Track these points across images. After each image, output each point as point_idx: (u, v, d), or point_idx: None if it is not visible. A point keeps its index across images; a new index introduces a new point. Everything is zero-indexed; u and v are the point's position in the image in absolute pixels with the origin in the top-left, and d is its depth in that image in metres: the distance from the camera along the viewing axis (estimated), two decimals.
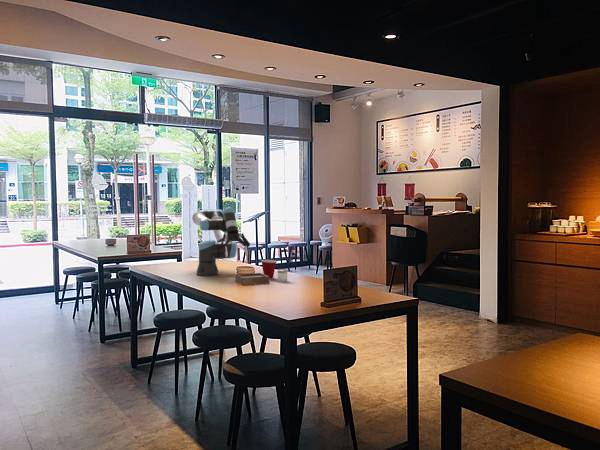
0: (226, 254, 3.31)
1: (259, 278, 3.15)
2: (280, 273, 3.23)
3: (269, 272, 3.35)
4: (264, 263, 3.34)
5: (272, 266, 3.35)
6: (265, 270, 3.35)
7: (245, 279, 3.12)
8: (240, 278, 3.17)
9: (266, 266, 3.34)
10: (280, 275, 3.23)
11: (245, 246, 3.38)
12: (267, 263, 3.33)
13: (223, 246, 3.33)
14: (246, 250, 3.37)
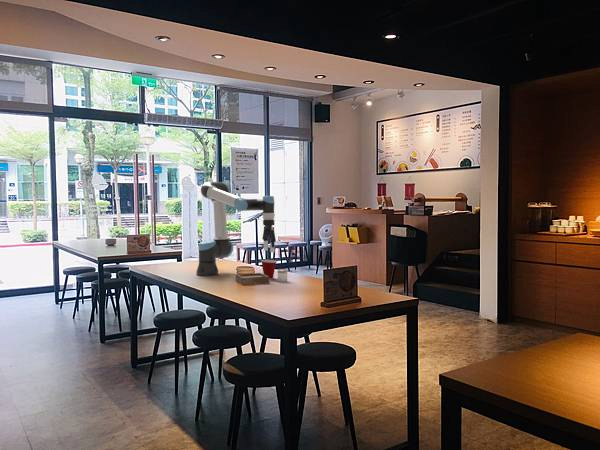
0: (273, 251, 3.31)
1: (259, 278, 3.15)
2: (280, 273, 3.23)
3: (269, 272, 3.35)
4: (264, 263, 3.34)
5: (272, 266, 3.35)
6: (265, 270, 3.35)
7: (245, 279, 3.12)
8: (240, 278, 3.17)
9: (266, 266, 3.34)
10: (280, 275, 3.23)
11: (267, 241, 3.44)
12: (267, 263, 3.33)
13: (274, 241, 3.30)
14: (267, 246, 3.44)
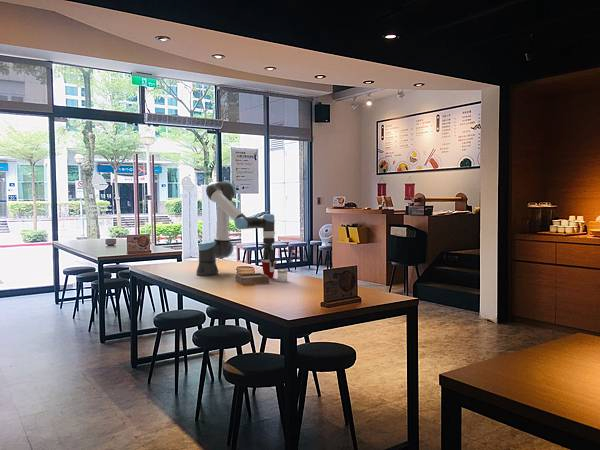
0: (273, 270, 3.33)
1: (259, 278, 3.15)
2: (280, 273, 3.23)
3: (269, 272, 3.35)
4: (264, 263, 3.34)
5: None
6: (265, 270, 3.35)
7: (245, 279, 3.12)
8: (240, 278, 3.17)
9: (266, 266, 3.34)
10: (280, 275, 3.23)
11: None
12: (267, 263, 3.33)
13: (273, 261, 3.32)
14: None
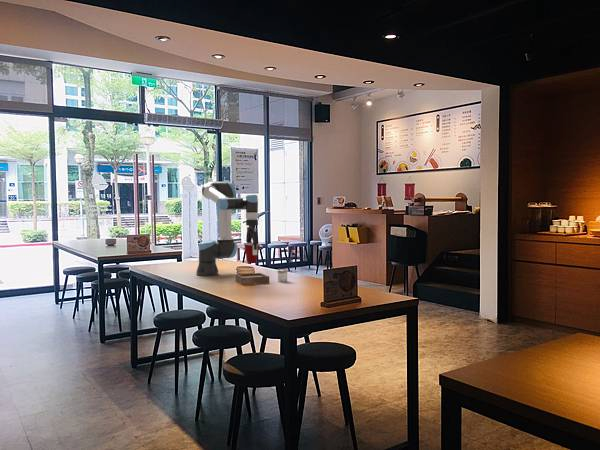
0: (256, 253, 3.16)
1: (259, 278, 3.15)
2: (280, 273, 3.23)
3: (252, 255, 3.18)
4: (247, 246, 3.18)
5: None
6: (248, 253, 3.19)
7: (245, 279, 3.12)
8: (240, 278, 3.17)
9: (249, 249, 3.18)
10: (280, 275, 3.23)
11: None
12: (250, 246, 3.17)
13: (256, 244, 3.15)
14: None
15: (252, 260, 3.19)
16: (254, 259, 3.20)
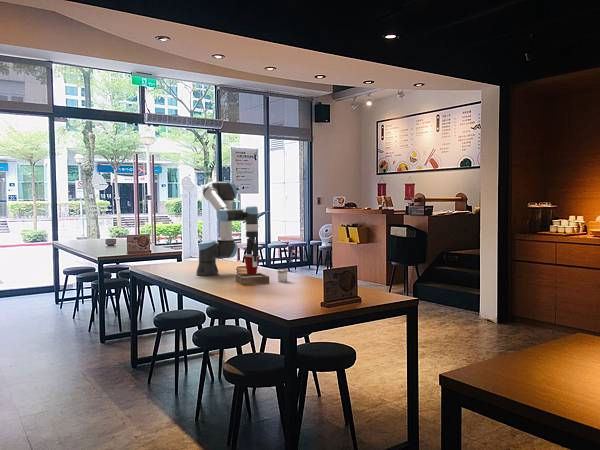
0: (256, 265, 3.17)
1: (259, 278, 3.15)
2: (280, 273, 3.23)
3: (252, 267, 3.19)
4: (247, 258, 3.18)
5: None
6: (248, 265, 3.19)
7: (245, 279, 3.12)
8: (240, 278, 3.17)
9: (249, 260, 3.18)
10: (280, 275, 3.23)
11: None
12: (250, 258, 3.17)
13: (256, 256, 3.16)
14: None
15: (252, 272, 3.19)
16: (254, 271, 3.20)
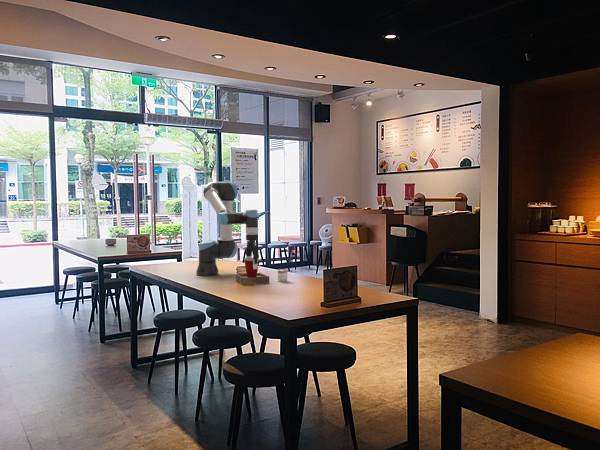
0: (256, 267, 3.16)
1: (259, 278, 3.15)
2: (280, 273, 3.23)
3: (252, 270, 3.19)
4: (247, 261, 3.18)
5: None
6: (248, 269, 3.19)
7: (245, 279, 3.12)
8: (240, 278, 3.17)
9: (249, 264, 3.18)
10: (280, 275, 3.23)
11: None
12: (250, 261, 3.17)
13: (257, 258, 3.15)
14: None
15: (252, 275, 3.20)
16: (254, 274, 3.20)
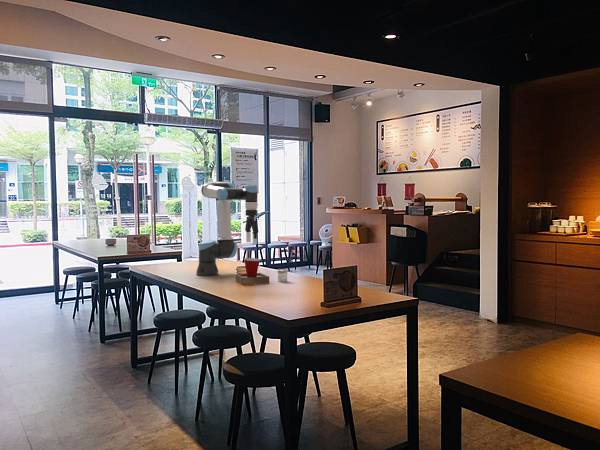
0: (256, 242, 3.15)
1: (259, 278, 3.15)
2: (280, 273, 3.23)
3: (252, 270, 3.19)
4: (247, 261, 3.18)
5: (255, 265, 3.19)
6: (248, 269, 3.19)
7: (245, 279, 3.12)
8: (240, 278, 3.17)
9: (249, 264, 3.18)
10: (280, 275, 3.23)
11: (250, 232, 3.28)
12: (250, 261, 3.17)
13: (256, 233, 3.14)
14: (250, 237, 3.28)
15: (252, 275, 3.20)
16: (254, 274, 3.20)
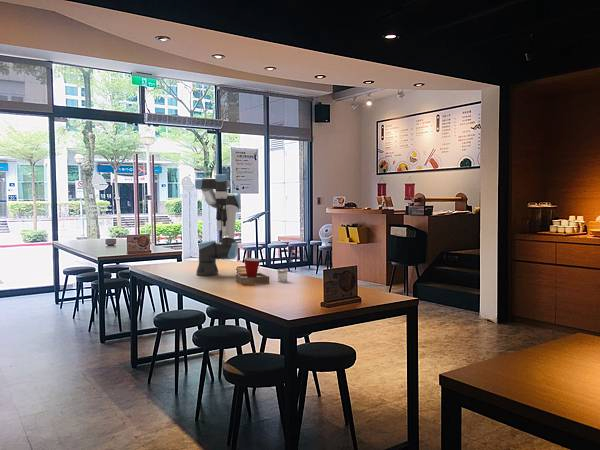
0: (225, 230, 3.26)
1: (259, 278, 3.15)
2: (280, 273, 3.23)
3: (252, 270, 3.19)
4: (247, 261, 3.18)
5: (255, 265, 3.19)
6: (248, 269, 3.19)
7: (245, 279, 3.12)
8: (240, 278, 3.17)
9: (249, 264, 3.18)
10: (280, 275, 3.23)
11: None
12: (250, 261, 3.17)
13: (225, 220, 3.24)
14: None
15: (252, 275, 3.20)
16: (254, 274, 3.20)
